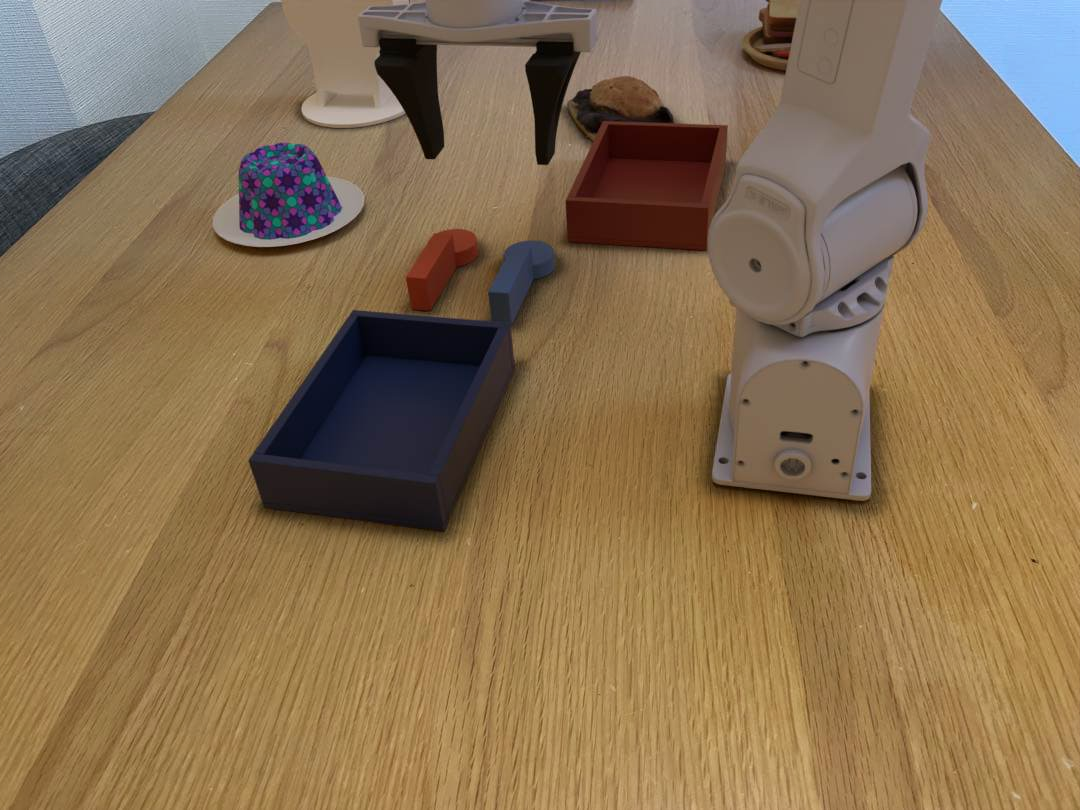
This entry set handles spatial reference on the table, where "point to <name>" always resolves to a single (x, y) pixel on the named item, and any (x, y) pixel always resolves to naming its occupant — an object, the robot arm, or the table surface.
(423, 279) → the red spoon
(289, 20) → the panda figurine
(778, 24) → the toy sandwich meal
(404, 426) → the blue bin
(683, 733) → the table surface
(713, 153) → the red bin
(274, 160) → the pudding
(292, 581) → the table surface
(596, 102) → the bread roll
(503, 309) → the blue spoon
